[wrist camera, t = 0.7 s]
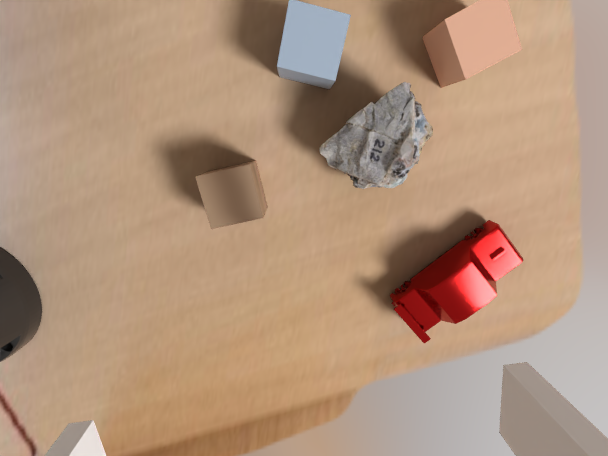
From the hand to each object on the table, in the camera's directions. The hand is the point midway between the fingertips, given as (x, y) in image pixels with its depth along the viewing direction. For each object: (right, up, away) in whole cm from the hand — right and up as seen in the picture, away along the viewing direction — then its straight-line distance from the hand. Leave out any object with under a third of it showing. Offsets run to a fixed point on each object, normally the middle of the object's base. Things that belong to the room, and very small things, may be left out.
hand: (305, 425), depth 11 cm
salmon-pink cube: (+15, +24, +21) cm, 35 cm away
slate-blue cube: (+1, +23, +21) cm, 31 cm away
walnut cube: (-7, +11, +24) cm, 27 cm away
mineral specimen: (+7, +15, +23) cm, 29 cm away
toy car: (+16, +1, +28) cm, 32 cm away
